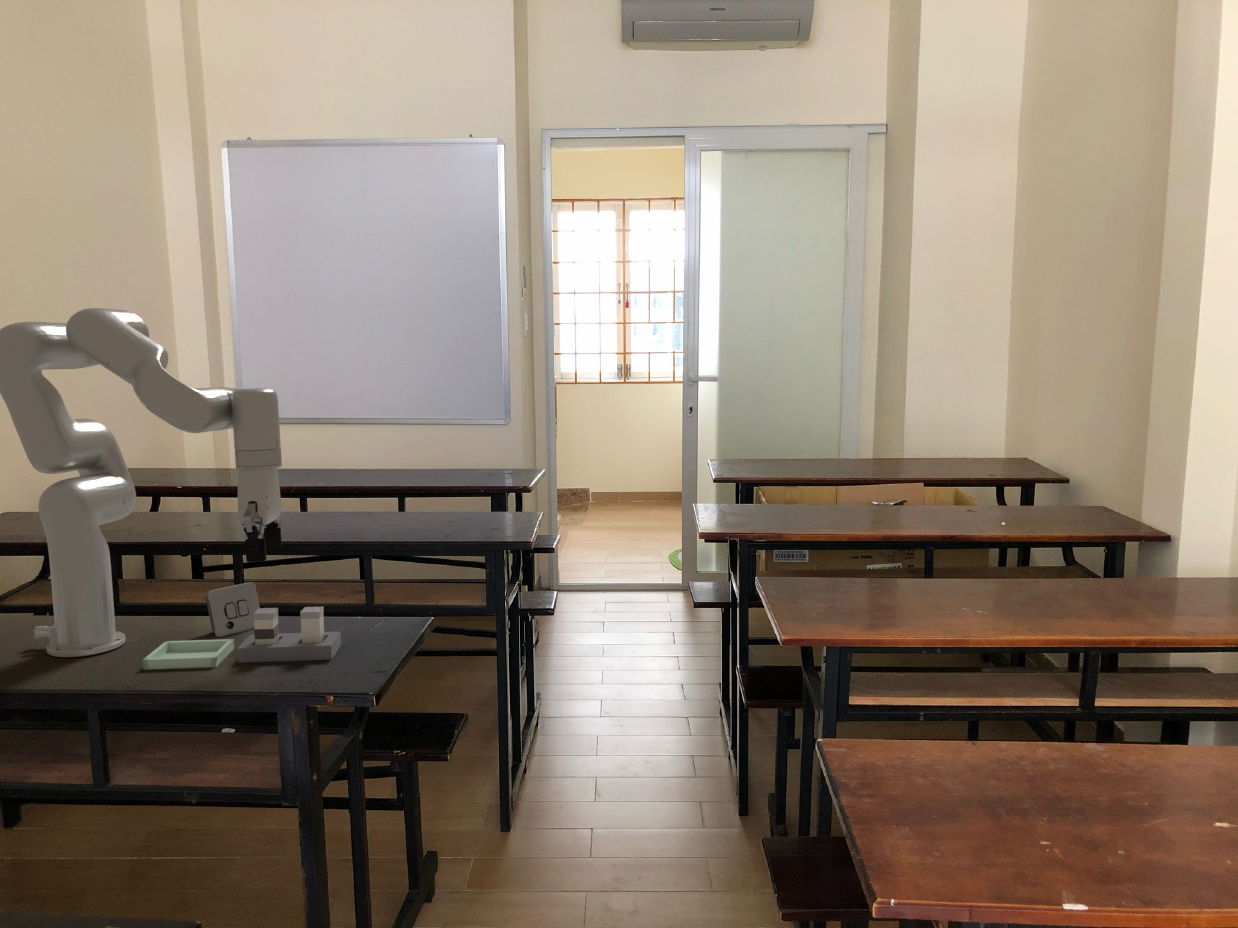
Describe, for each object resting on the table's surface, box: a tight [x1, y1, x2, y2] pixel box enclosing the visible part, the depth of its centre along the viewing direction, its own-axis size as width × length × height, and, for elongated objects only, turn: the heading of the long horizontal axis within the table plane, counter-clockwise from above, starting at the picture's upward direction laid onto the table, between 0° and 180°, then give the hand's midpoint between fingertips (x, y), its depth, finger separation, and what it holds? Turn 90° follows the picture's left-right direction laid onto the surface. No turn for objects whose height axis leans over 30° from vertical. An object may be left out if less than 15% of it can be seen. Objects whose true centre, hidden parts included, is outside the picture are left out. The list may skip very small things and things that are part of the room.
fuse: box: [299, 606, 325, 643], centre depth 161 cm, size 3×3×8 cm
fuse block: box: [236, 631, 342, 664], centre depth 161 cm, size 16×8×3 cm, turn 96°
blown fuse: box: [253, 607, 280, 645], centre depth 160 cm, size 3×3×8 cm
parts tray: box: [142, 638, 235, 671], centre depth 158 cm, size 12×10×2 cm
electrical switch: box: [205, 581, 261, 638], centre depth 175 cm, size 9×5×9 cm, turn 141°
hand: (264, 555), depth 158 cm, fingers open, 9 cm apart
